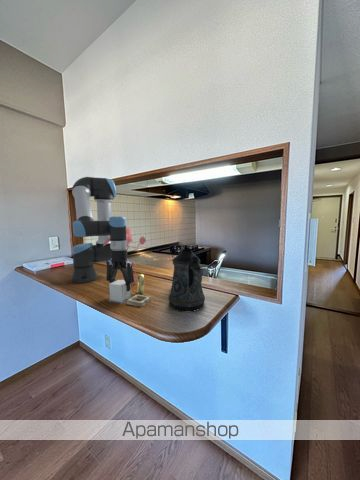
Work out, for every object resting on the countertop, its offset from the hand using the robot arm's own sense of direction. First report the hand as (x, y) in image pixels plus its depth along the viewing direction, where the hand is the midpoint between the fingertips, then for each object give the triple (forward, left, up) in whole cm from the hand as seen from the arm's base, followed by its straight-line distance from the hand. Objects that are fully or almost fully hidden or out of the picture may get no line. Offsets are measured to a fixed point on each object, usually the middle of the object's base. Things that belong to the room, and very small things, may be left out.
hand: (120, 296), depth 97 cm
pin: (-10, +5, -2) cm, 11 cm away
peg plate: (0, 0, -2) cm, 2 cm away
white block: (0, 0, -1) cm, 1 cm away
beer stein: (-6, +33, -2) cm, 34 cm away
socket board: (0, +11, -2) cm, 11 cm away
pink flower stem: (-18, -11, -2) cm, 21 cm away
